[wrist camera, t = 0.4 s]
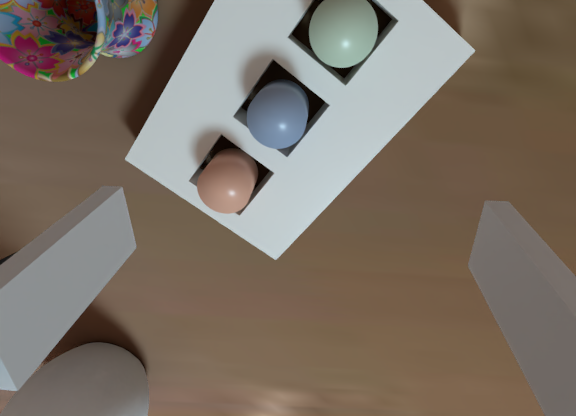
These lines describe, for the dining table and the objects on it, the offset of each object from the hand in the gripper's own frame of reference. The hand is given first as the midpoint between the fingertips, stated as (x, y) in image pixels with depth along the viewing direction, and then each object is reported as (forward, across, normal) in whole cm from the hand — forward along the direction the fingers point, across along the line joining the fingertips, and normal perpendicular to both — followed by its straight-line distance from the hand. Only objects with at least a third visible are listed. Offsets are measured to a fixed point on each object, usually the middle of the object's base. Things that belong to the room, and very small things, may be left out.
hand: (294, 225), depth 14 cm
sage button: (+22, +2, +6) cm, 22 cm away
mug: (+24, -19, +8) cm, 32 cm away
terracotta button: (+22, -8, -7) cm, 24 cm away
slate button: (+22, -3, -1) cm, 22 cm away
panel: (+24, -3, -1) cm, 24 cm away
